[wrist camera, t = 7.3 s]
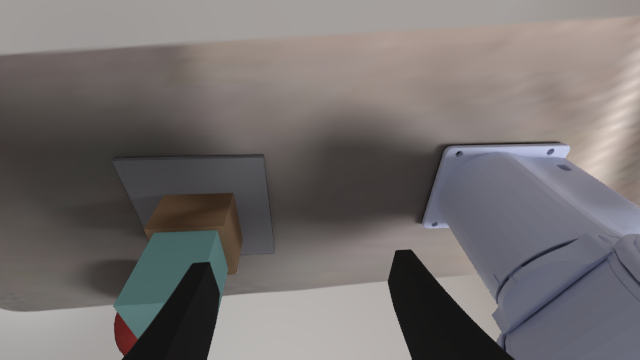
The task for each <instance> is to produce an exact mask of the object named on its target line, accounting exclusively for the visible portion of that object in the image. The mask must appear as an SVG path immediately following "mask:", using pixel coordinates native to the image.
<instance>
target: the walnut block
mask: <svg viewBox="0 0 640 360" xmlns="http://www.w3.org/2000/svg"><path fill="white" fill-rule="evenodd" d="M143 230H144V232H145V234H146V236H147V238H148V240H149V241H150V239H151V237H152V235H153V233H162V232H185V231H208V230H217V231H218V234H219V238H220V241H221V245H222V248H223V252H224V256H225V259H226V263H227V266H228V272H227V275H229V274H236V271H237V266H238V261H239V256H240V251H241V246H242V241H243V237H242V232H241V228H240V223H239V218H238V213H237V208H236V203H235V199H234V194H233V193H212V194H182V195H164V196H163V198H162V199H161V201H160V203H159V204H158V206H157V208H156V209H155V211H154V213H153V214H152V216H151V218H150V219H149V221H148V223H147V224H146V226H145V227H144V229H143Z"/></svg>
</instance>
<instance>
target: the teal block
mask: <svg viewBox="0 0 640 360" xmlns="http://www.w3.org/2000/svg"><path fill="white" fill-rule="evenodd" d="M198 262H210V264H211V267H212V270H213V273H214V276H215V279H216V282H217V285H218V288H219V291H220V299H219V307H220V302H221V298H222V294H223V289H224V285H225V281H226V276H227V272H228V266H227V263H226V259H225V256H224V252H223V248H222V245H221V241H220V238H219V234H218V231H217V230H208V231H185V232H162V233H153V235H152V237H151V239H150V241H149V242H148V244H147V246H146V248H145V250H144V251H143V253H142V255H141V257H140V259H139V260H138V262H137V264H136V266H135V268H134V269H133V271H132V273H131V275H130V277H129V279H128V280H127V282H126V284H125V286H124V288H123V289H122V291H121V293H120V295H119V297H118V298H117V300H116V302H115V304H114V306H113V307H114V308H115V309H116V311H117V312H118V313H119V315H120V316H121V317H122V319H123V320H124V321H125V323H126V324H127V325H128V327H129V328H130V329H131V331H132V332H133V333H134V335H135V336H136V337H137V339H139V337H140V336H141V335H142V334H143V332H144V331H145V330H146V329H147V327H148V326H149V325H150V323H151V322H152V321H153V319H154V318H155V317H156V315H157V314H158V312H159V311H160V310H161V308H162V307H163V305H164V304H165V303H166V301H167V300H168V298H169V297H170V296H171V294H172V293H173V291H174V290H175V288H176V287H177V285H178V284H179V282H180V281H181V279H182V278H183V276H184V275H185V273H186V272H187V270H188V269H189V267H190V266H191V264H192V263H198ZM219 307H218V311H219ZM217 316H218V314H217Z"/></svg>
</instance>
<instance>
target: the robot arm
mask: <svg viewBox="0 0 640 360" xmlns="http://www.w3.org/2000/svg"><path fill="white" fill-rule="evenodd" d="M548 150H549V151H548ZM569 150H570V147H569V146H568V145H567V144H564V143H554V144H509V145H465V146H449V147H447V148H446V149H445V151H444V153H443V156H442V159H441V162H440V166H439V169H438V172H437V175H436V179H435V182H434V185H433V188H432V192H431V195H430V198H429V201H428V204H427V208H426V211H425V214H424V217H423V221H422V225H423V226H424V228H450V229H451V231H452V232H453V234H454V236H455V237H456V239H457V240H458V242H459V244H460V245H461V247H462V248H463V250H464V252H465V253H466V255H467V256H468V258H469V260H470V261H471V263H472V264H473V266H474V268H475V269H476V271H477V272H478V274H479V276H480V277H481V279H482V280H483V282H484V284H485V285H486V287H487V288H488V290H489V291H490V293H491V295H492V296H493V298H494V300H495V301H496V303H497V304H498V308H497V309H496V311H495V312H494V313H493V314H492V316H493V318H494V320H495V321H496V323H497V325H498V327H499V328H500V330H501V332H502V333H501V334H500V335H499V337H498V339H497V342H495V341H494V340H493V339H492V338H491V337H490V336H488V335H487V334H486V333H485V332H484V331H483V330H482V329H481V328H480V327H479V326H478V325H477V324H476V323H475V322H474V321H473V320H472V319H471V318H470V317H469V316H468V315H467V314H466V313H465V311H463V309H462V308H461V307H460V306H459V305H458V304H457V303H456V302H455V301H454V300H453V298H452V297H451V296H450V295H449V294H448V293H447V292H446V291H445V290H444V288H443V287H442V286H441V285H440V284H439V283H438V282H437V280H436V279H435V278H434V277H433V276H432V274H431V273H430V272H429V271H428V270H427V268H426V267H425V266H424V265H423V264H422V262H421V261H420V260H419V259H418V257H417V256H416V255H415V254H414V252H413V251H412V250H411V249H410V250H396V251H395V255H394V259H393V263H392V267H391V271H390V275H389V279H388V285H389V289H390V294H391V298H392V302H393V306H394V309H395V312H396V315H397V318H398V321H399V324H400V327H401V330H402V332H403V335H404V338H405V341H406V344H407V346H408V349H409V352H410V355H411V357H412V360H640V208H639V207H637V206H636V205H635V204H633V203H632V202H631V201H629V200H628V199H626V198H625V197H623V196H621V195H620V194H618V193H617V192H615V191H614V190H612V189H611V188H609V187H608V186H606V185H605V184H603V183H602V182H600V181H599V180H597V179H596V178H594V177H593V176H591V175H590V174H588V173H587V172H585V171H584V170H582V169H581V168H579V167H578V166H576V165H575V164H573V163H572V162H570V161H569V160H567V159H566V158H565V157H566V156H567V154H568V152H569ZM458 151H460V152H459V153H458V154H456V153H457V152H458ZM434 222H435V223H434ZM219 299H220V291H219V288H218V285H217V282H216V279H215V276H214V273H213V270H212V267H211V264H210V262H198V263H192V264H191V266H190V267H189V269H188V270H187V272H186V273H185V275H184V276H183V278H182V279H181V281H180V282H179V284H178V285H177V287H176V288H175V290H174V291H173V293H172V294H171V296H170V297H169V298H168V300H167V301H166V303H165V304H164V305H163V307H162V308H161V310H160V311H159V312H158V314H157V315H156V317H155V318H154V319H153V321H152V322H151V323H150V325H149V326H148V327H147V329H146V330H145V331H144V332H143V334H142V335H141V336H140V337H139V339H138V340H137V341H136V343H135V344H134V345H133V346H132V348H131V349H130V350H129V351H128V353H127V354H126V355H125V356H124V357H123V359H122V360H207V357H208V353H209V349H210V345H211V341H212V337H213V333H214V329H215V325H216V320H217V314H218V307H219Z"/></svg>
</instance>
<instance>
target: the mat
mask: <svg viewBox="0 0 640 360" xmlns="http://www.w3.org/2000/svg"><path fill="white" fill-rule="evenodd" d="M112 163H113V165H114V167H115V169H116V171H117V173H118V175H119V177H120V179H121V182H122V184H123V186H124V188H125V190H126V192H127V194H128V196H129V198H130V200H131V202H132V204H133V206H134V208H135V210H136V213H137V215H138V217H139V219H140V221H141V223H142V225H143V227H145V226H146V224H147V223H148V221H149V219H150V218H151V216H152V214H153V213H154V211H155V209H156V208H157V206H158V204H159V203H160V201H161V199H162V198H163V196H164V195H182V194H212V193H233V194H234V199H235V203H236V208H237V213H238V218H239V223H240V228H241V232H242V237H243V241H242V246H241V251H240V255H252V254H273V253H274V252H275V249H274V240H273V232H272V223H271V214H270V206H269V197H268V189H267V180H266V171H265V163H264V155H224V156H181V157H139V158H114V159H113V160H112Z"/></svg>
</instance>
